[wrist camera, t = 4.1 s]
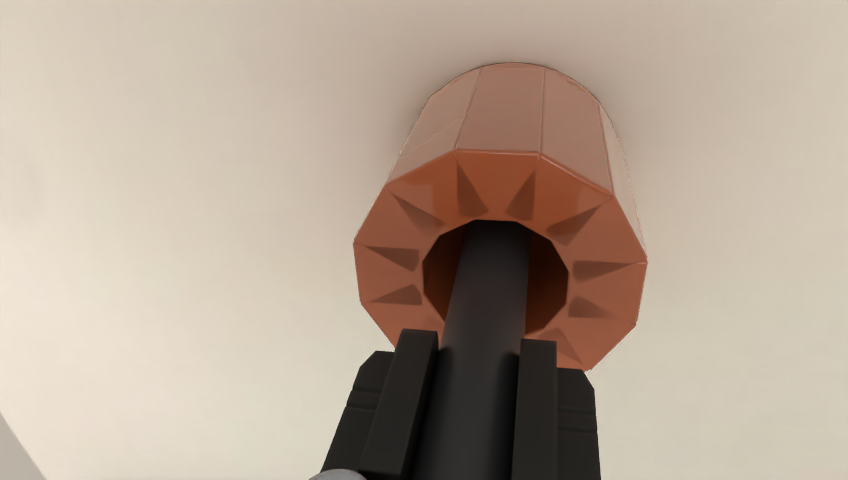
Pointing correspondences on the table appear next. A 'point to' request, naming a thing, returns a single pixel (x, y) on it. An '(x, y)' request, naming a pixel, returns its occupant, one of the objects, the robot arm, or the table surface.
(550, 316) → the pen pot
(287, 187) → the table surface
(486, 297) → the stylus
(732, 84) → the table surface
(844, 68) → the table surface
